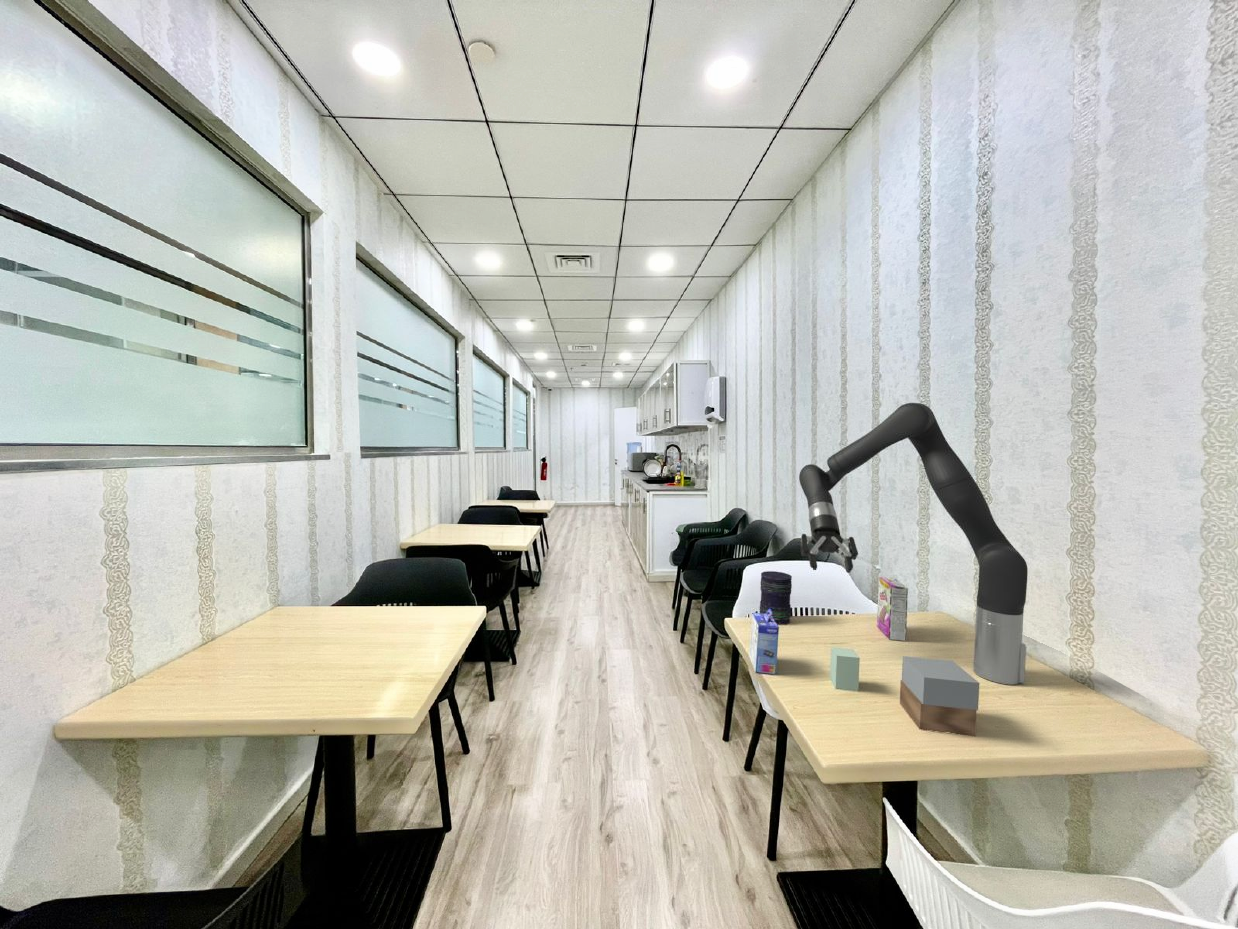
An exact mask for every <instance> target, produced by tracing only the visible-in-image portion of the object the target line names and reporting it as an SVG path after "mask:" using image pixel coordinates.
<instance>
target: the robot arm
mask: <svg viewBox="0 0 1238 929" xmlns="http://www.w3.org/2000/svg"><path fill="white" fill-rule="evenodd" d="M906 439H908V440H909V441H910V443H911V444H912V445H913V447H914V448H915V450H916V452H917V453H918V455H919V457H920V459H921V462H922V465H923V468H924V471H925V474H926V477H927V479H928V482H929V484H930V486H931V488H932V490H933V493H935V496H936V497H937V499H938V500H939V503H941V505H942V506H943V508H944V509H945V511H946V513H948V515H949V516H950V517H951V519H952V520H953V521H954V522H955V523H956V524H957V525H958V527H959V528H960V530H962V532H963V533H964V535H965V536H966V538H967V541H968V542H969V545H970V546H971V549H972V550H973V554H974V555H975V557H976V560H977V563H978V564H977V565H978V566H979V567H978V585H977V594H976V605H975V606H976V610H975V629H974V631H975V632H974V648H973V649H974V650H973V669H972V670H973V673H975V674H976V675H978V676H979V677H981V678H984V679H986V680H988V681H991V682H995V683H997V684H1003V685H1011V686H1012V685H1013V686H1014V685H1018V684H1025V680H1026V677H1025V676H1026V661H1027V660H1026V658H1027V657H1026V656H1027V645H1026V643H1023V634H1024V633H1023V631H1024V630H1023V629H1024V614H1025V613H1024V611H1025V604H1026V601H1027V590H1028V587H1027V586H1028V574H1029V573H1028V569H1029V568H1028V564H1027V561H1026V559H1025V558H1024V557H1023V556H1022V554H1021V553H1020V552H1019V551H1018V550H1017V549H1016V548H1015V547H1014V545H1013V544H1012V543H1011V541H1010V540H1008V538H1007V537H1006V536H1005V534H1004V533H1003V532H1002V530H1001V529H1000V527H999V526H998V524H997V523H996V520H995V519H994V517H993V514H992V512H991V510H990V507H989V505H988V502H987V501H986V498H985V497H984V495H983V492H982V491H981V488H980V487H979V485H978V484H977V482H976V481H975V479H974V477H973V476H972V474H971V473H970V471H969V470H968V468H967V466H966V465H965V464H964V463H963V461H962V460H961V459H960V457H959V456H958V454H957V453H956V452H955V451H954V450H953V448H952V447H951V446H950V444H949V442H948V441H947V439H946V437H945V435H944V434H943V431H942V428H941V427H940V425H939V423H938V421H937V418H936V416H935V414H934V412H933V410H932V409H931V408H930V407H929V406H927V405H926V404H923V403H919V402H909V403H908V402H907V403H905V404H904V403H903V404H902V405H900V406H899V407H897V408H896V409H895V410H894V411H893V412H892V413H891V414H890V415H889V416H888V417H886V418H885V419H884V420H883V421H882V422H881V423H879V424H878V425H877V426H876V427H874V428H873V429H872V430H871V431H868V433H866V434H864V435H863V436H861V437H860V438H858V439H857V440H855V441H853V442H851V443H850V444H848V445H846V446H845V447H843V448H842V449H840V450H838V451H837V452H835V453H834V454H832V455H831V456H830V457H828V458H827V460H826V464H827V466H828V467H827V468H829V469H828V470H826V471H825V470H824V469H822V468H821V467H819V466H818V465H816V464H812V463H810V464H807V465H805V466H803V467H802V468H801V470H800V471H799V473H798V474H799V475H798V478H799V483H800V484H799V485H800V487H801V489H802V492H803V494H804V496H805V498H806V500H807V508H808V522H809V527H810V532H811V533H810V534H811V536H809V535H807V534H805V533H802V534H801V538H800V554H801V557H806V558H808V560H809V562H808V563H809V566H810V568H811V569H812V570H813V571H816V570H817V569H818V562H817V556H816V555H817V554H818V553H819V552H821V553H831V554H834V553H835V554H836V555H837V556H838V557H841V558H842V559H843V560H844V567H845V572H846V573H848V574H849V573H851V572H852V570H853V568H854V564H853V561H855V560H856V559H857V557H858V555H859V552H858V549H857V546H856V545H857V544H856V541H855V539H854V536H849V537H848V538H843V537H842V535H841V531H840V526H839V520H838V515H837V512H836V509H835V507H834V506H835V505H834V502H833V496H832V495H831V494H832V493H830V491H831V490H833V488H834V487H835V486H836V485H838V483H839V482H840V481H841V480H842V479H843V478H844V477H845V476H847V474H849V473H851V472H853V471H855V470H856V469H858V468H860V467H861V466H863V465H864V464H865V463H867V462H869V461H870V460H871V459H873V458H874V457H875V456H877V455H878V454H879V453H881V452H882V451H883V450H886V449H888V447H890V446H892V445H894V444H897V443H898V442H901V441H903V440H906ZM809 542H811V544H812V545H814V546H813V547H812V548H811V549H810V550H809V549H808V544H809ZM844 545H845V546H844ZM846 547H847V548H848V550H847V549H846Z"/></svg>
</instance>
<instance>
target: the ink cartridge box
mask: <svg viewBox="0 0 1238 929" xmlns="http://www.w3.org/2000/svg"><path fill="white" fill-rule="evenodd" d="M768 613H770V614H768ZM772 614H773V613H772V611H771V610H770V609H769V610H768V611H767V612H766V614H762V613H760V612H759V613H758V612H752V613H751V624H750V625H751V626H750V638H749V639H750V640H749V651H748V652H749V653H748V654H749V655H748V656H749V657H748V658H749V660H750V662H751V664H752V666H753V670H754V672H755V673H759V674H760V673H761V674H767V675H777V666H778V665H777V664H778V649H779V648H778V646H779V631H780V627H779V626H780V625H777V623H776V622H775V620H774V619H773V617H772Z"/></svg>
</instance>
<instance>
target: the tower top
mask: <svg viewBox="0 0 1238 929" xmlns="http://www.w3.org/2000/svg"><path fill="white" fill-rule="evenodd" d="M901 662H902V663H901V664H902V665H901V666H902V667H901V680H902V681H903V682H904V684H905V685H906V686H907V687H908V688H909V689H910V690H911V691H912V693H913V694H914V695H915V696H916V697H917V698H918V699H919V700H920V702H921V703H922V704H925V705H934V706H943V707H953V708H962V709H971V710H977V711H979V700H980V699H979V698H980V682H979V681H978V680H977V679H976V678H974V677H973V676H972V675H971V674H969V673H968V672H967V671H966V670H964V669H963V668H962V667H961V666H960V665H958V664H957V663H956V661H955V662H954V661H953V660H951V659H949V660H948V659H938V658H928V657H918V656H907V655H902V661H901Z"/></svg>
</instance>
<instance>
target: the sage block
mask: <svg viewBox="0 0 1238 929" xmlns="http://www.w3.org/2000/svg"><path fill="white" fill-rule="evenodd" d="M860 659H861V658H860V656H859V655H858V653H857V652H856V651H855V649H854V648H848V647H837V646H831V647H830V666H829V667H830V670H829V672H830V673H829V680H830V682H831V684H832V686H833V687H834V689H835V690H842V691H851V692H859V683H860V682H859V680H860V661H861V660H860Z"/></svg>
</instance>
